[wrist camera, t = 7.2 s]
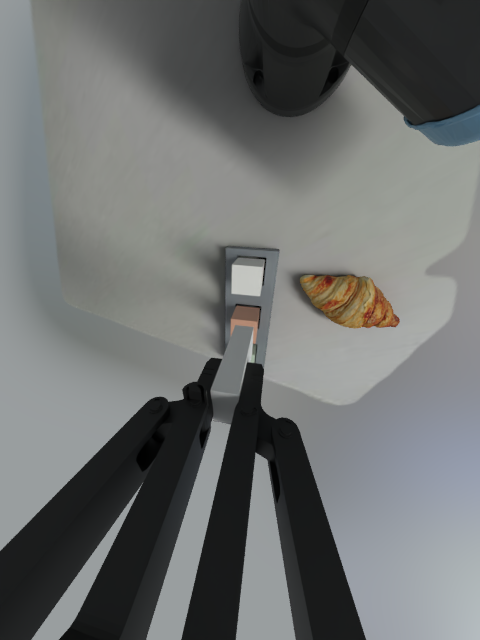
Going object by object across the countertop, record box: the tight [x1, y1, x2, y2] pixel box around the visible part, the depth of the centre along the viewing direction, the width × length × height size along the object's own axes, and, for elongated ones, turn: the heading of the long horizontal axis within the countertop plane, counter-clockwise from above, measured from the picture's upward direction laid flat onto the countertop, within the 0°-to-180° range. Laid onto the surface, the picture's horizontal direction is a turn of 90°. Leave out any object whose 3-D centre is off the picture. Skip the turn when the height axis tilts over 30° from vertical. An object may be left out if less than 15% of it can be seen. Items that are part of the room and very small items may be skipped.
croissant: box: [300, 275, 399, 328], centre depth 37 cm, size 21×10×8 cm, turn 69°
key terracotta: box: [231, 306, 260, 344], centre depth 40 cm, size 5×5×6 cm
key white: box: [231, 257, 265, 296], centre depth 35 cm, size 5×5×6 cm
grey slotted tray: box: [225, 246, 279, 367], centre depth 44 cm, size 28×10×2 cm, turn 177°
